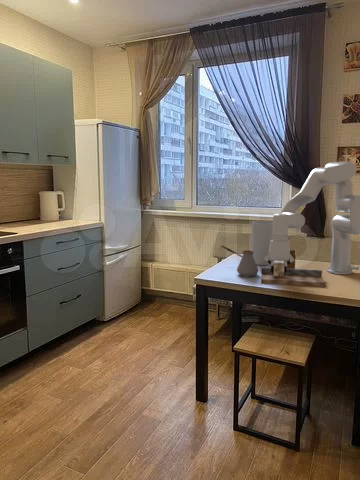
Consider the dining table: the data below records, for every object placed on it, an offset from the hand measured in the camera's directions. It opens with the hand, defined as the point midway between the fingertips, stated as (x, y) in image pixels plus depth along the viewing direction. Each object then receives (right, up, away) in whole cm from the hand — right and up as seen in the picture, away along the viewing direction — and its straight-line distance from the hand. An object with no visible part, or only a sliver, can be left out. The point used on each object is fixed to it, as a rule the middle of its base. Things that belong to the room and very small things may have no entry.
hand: (278, 272), depth 187 cm
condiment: (+11, -1, +17) cm, 21 cm away
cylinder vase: (-1, +2, +34) cm, 34 cm away
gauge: (0, -1, -2) cm, 2 cm away
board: (+6, -4, -2) cm, 8 cm away
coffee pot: (-19, -2, +12) cm, 22 cm away
